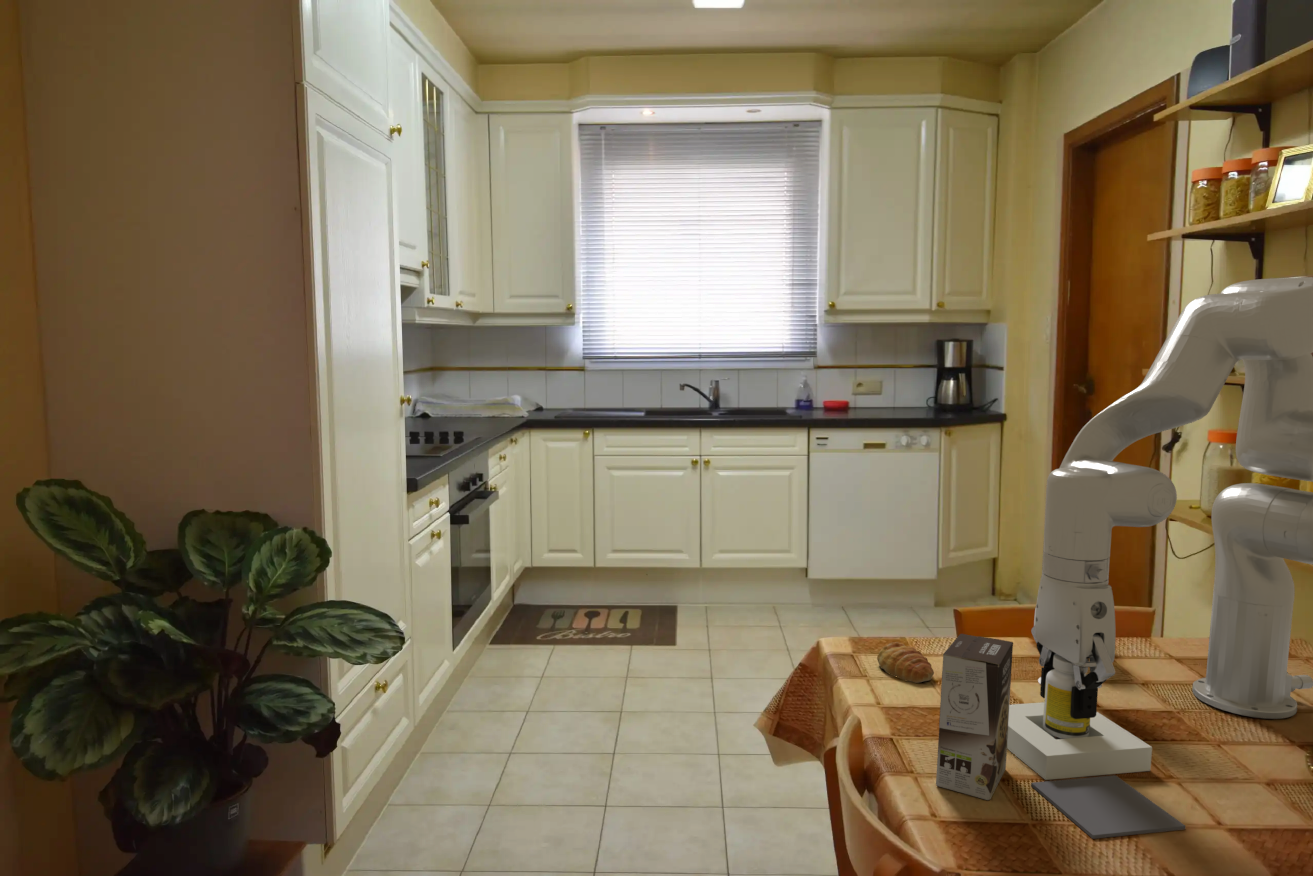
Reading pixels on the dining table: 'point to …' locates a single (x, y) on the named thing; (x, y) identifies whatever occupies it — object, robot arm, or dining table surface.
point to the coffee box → (974, 715)
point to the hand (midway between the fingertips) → (1067, 705)
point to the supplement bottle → (1062, 702)
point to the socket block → (1074, 746)
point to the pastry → (905, 662)
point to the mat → (1106, 807)
